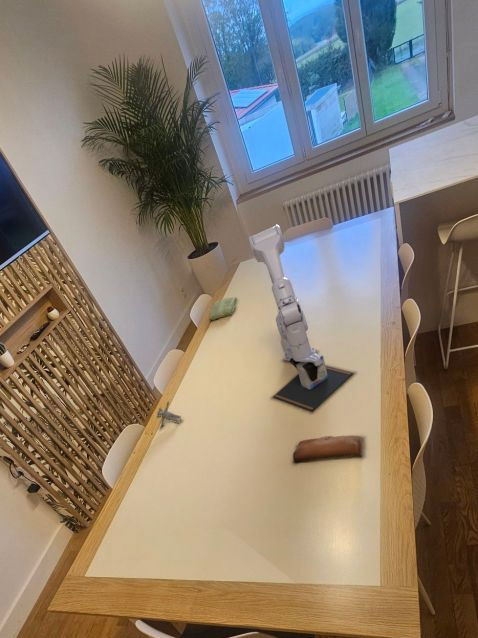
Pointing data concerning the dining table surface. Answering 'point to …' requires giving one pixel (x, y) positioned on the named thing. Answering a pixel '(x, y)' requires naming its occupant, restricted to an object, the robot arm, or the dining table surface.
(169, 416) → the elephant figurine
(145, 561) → the dining table surface
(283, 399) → the slate mat
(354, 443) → the sunglasses case
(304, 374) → the medicine box
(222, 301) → the washcloth
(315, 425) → the dining table surface
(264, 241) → the robot arm
